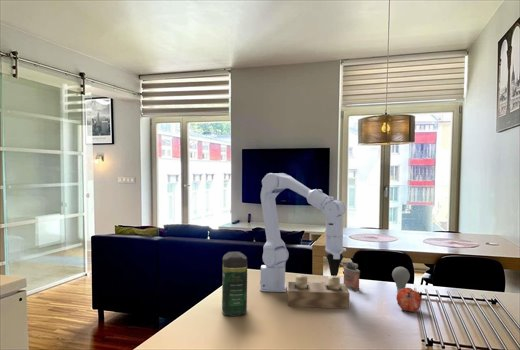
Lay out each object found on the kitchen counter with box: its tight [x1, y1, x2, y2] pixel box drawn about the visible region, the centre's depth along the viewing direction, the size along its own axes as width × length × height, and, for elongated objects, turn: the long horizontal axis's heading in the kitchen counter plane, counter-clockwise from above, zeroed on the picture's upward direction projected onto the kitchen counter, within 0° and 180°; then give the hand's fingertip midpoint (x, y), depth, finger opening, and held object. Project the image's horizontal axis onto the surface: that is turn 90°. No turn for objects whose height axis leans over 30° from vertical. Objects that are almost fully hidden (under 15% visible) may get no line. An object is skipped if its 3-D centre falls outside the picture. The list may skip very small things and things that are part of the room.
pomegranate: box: [396, 287, 422, 313], centre depth 115 cm, size 7×7×10 cm
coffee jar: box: [221, 251, 248, 317], centre depth 113 cm, size 10×8×19 cm
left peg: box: [295, 274, 308, 289], centre depth 122 cm, size 4×4×5 cm
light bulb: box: [391, 266, 411, 293], centre depth 130 cm, size 6×6×10 cm
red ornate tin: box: [342, 261, 361, 292], centre depth 136 cm, size 8×3×10 cm, turn 25°
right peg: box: [327, 275, 341, 290], centre depth 121 cm, size 4×4×5 cm
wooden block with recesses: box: [287, 281, 351, 309], centre depth 121 cm, size 20×10×5 cm, turn 85°
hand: (333, 275), depth 121 cm, fingers closed
